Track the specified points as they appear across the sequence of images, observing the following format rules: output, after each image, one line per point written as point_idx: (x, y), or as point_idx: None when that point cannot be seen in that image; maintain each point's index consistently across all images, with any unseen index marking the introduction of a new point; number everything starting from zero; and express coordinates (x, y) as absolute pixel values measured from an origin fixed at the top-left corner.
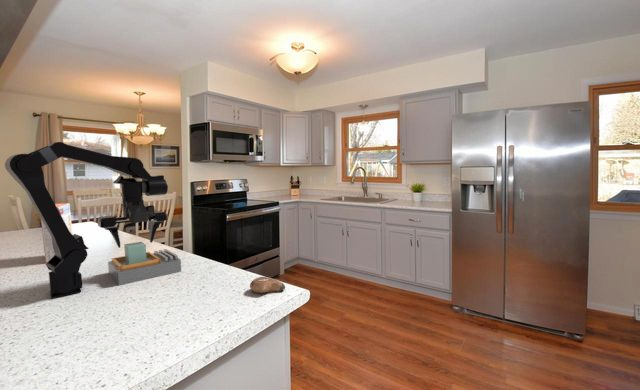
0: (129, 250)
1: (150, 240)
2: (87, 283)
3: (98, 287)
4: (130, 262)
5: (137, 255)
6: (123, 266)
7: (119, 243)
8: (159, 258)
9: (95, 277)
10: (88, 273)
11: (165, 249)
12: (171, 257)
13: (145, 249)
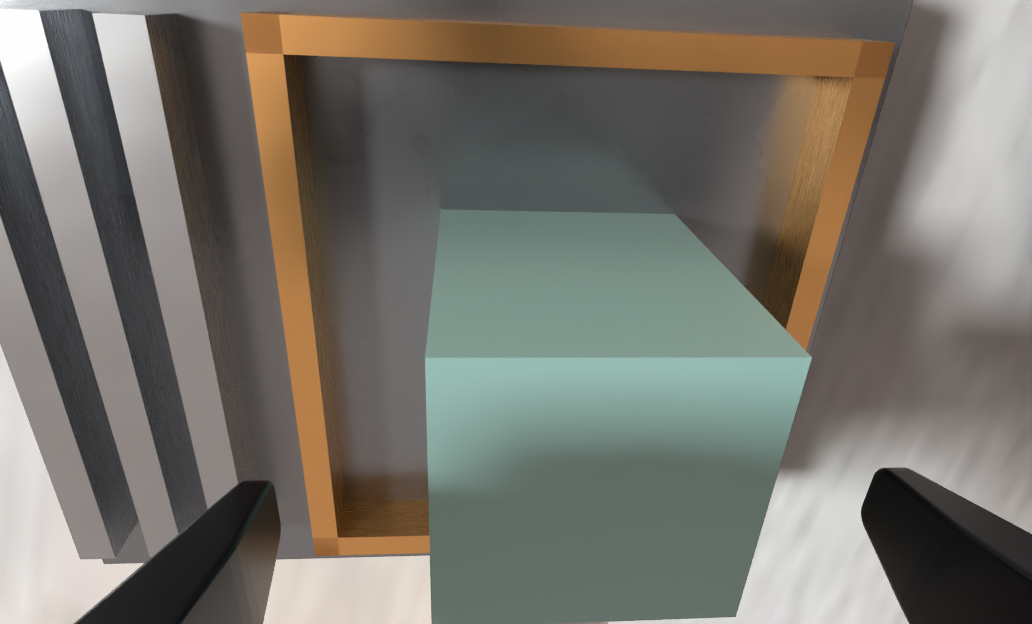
0: (751, 315)
1: (263, 536)
2: (940, 299)
3: (957, 86)
4: (668, 228)
5: (582, 263)
6: (846, 41)
7: (965, 518)
8: (249, 61)
9: (820, 421)
10: (802, 554)
11: (88, 542)
12: (24, 10)
13: (440, 299)
